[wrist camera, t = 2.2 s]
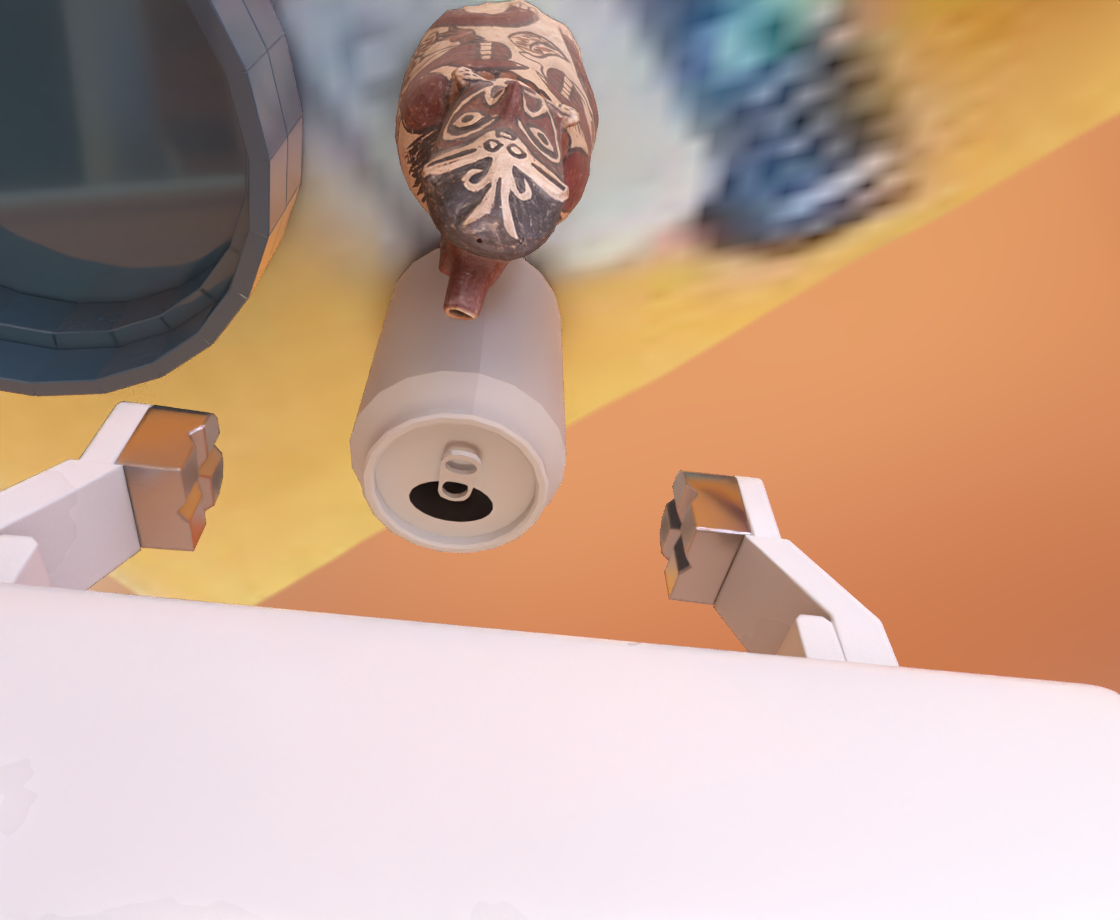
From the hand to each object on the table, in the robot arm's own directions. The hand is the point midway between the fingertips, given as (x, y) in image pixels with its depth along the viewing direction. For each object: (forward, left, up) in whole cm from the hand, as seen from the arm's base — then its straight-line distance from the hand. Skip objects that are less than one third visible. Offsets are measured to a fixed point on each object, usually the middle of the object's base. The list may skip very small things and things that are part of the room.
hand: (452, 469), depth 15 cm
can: (+8, -4, -21) cm, 23 cm away
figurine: (0, 0, -21) cm, 21 cm away
